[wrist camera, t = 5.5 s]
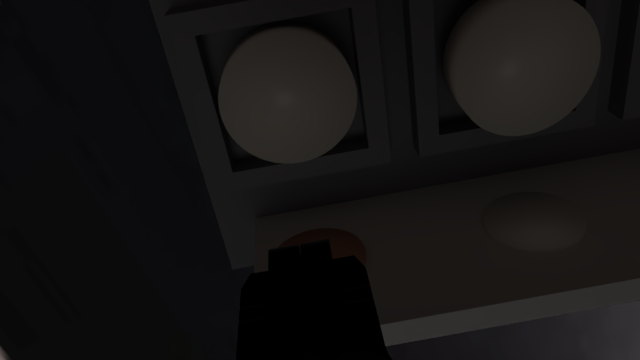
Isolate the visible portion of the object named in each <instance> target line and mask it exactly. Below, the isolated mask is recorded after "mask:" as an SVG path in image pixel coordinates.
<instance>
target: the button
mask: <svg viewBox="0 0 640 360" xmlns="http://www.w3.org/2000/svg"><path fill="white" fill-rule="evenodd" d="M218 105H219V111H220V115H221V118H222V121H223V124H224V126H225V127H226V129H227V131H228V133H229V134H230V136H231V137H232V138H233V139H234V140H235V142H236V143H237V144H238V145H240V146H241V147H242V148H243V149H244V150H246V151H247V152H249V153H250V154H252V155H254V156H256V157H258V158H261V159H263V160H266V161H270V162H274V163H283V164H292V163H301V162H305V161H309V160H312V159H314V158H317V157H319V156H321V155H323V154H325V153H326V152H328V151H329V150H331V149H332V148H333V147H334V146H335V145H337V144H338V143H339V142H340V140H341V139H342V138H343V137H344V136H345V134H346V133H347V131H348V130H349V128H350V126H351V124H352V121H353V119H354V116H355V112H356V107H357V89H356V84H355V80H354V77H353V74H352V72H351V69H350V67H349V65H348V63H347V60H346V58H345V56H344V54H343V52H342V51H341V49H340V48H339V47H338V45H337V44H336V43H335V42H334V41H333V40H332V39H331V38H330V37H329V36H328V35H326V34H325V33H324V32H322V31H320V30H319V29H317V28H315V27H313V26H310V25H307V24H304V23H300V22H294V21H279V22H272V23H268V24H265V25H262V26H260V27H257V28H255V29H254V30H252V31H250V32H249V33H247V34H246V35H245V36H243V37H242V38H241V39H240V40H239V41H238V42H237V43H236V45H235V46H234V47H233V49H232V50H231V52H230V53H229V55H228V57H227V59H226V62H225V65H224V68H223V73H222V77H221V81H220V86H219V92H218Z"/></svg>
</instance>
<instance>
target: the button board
mask: <svg viewBox="0 0 640 360" xmlns="http://www.w3.org/2000/svg"><path fill="white" fill-rule="evenodd" d="M477 1H478V0H149V2H150V6H151V9H152V12H153V15H154V19H155V22H156V25H157V28H158V31H159V35H160V38H161V41H162V44H163V47H164V51H165V54H166V57H167V60H168V63H169V67H170V70H171V73H172V76H173V79H174V83H175V86H176V89H177V92H178V95H179V99H180V102H181V105H182V108H183V112H184V115H185V118H186V121H187V124H188V128H189V131H190V134H191V137H192V140H193V144H194V147H195V150H196V153H197V156H198V160H199V163H200V166H201V169H202V172H203V176H204V179H205V182H206V185H207V189H208V192H209V195H210V198H211V201H212V205H213V208H214V211H215V214H216V217H217V221H218V224H219V227H220V230H221V233H222V237H223V240H224V243H225V246H226V249H227V253H228V256H229V259H230V262H231V265H232V269H237V268H243V267H248V266H254V273H258V272H264V271H268V251H269V249H274V248H280V247H285V246H291V245H296V244H298V246H299V249H300V244H301V243H307V242H313V241H318V240H324V239H329V241H330V247H331V252H332V257H333V259H336V258H341V257H347V256H352V255H354V256H355V257H356V258H357V259H358V260H359V261H360V262H361V263H362V264H363V265H364V266H365V267H366V270H367V274H368V278H369V282H370V286H371V290H372V294H373V299H374V302H375V306H376V310H377V314H378V318H379V323H380V327H381V331H382V335H383V339H384V343H385V346H390V345H395V344H401V343H406V342H412V341H418V340H423V339H429V338H434V337H440V336H445V335H451V334H456V333H462V332H467V331H473V330H479V329H484V328H490V327H495V326H501V325H506V324H512V323H517V322H523V321H528V320H534V319H539V318H545V317H551V316H556V315H562V314H567V313H573V312H578V311H584V310H589V309H595V308H600V307H606V306H612V305H617V304H623V303H628V302H634V301H639V300H640V0H573V1H575V2H576V3H578V4H579V5H581V6H582V7H583V8H584V9H585V10H586V11H587V12H588V13H589V14H590V16H591V17H592V19H593V20H594V22H595V24H596V27H597V29H598V33H599V37H600V45H601V52H600V61H599V66H598V70H597V73H596V76H595V78H594V80H593V83H592V85H591V87H590V88H589V90H588V92H587V93H586V95H585V96H584V98H583V99H582V100H581V101H580V103H579V104H578V105H577V106H576V107H575V108H574V109H573V110H572V111H571V112H570V113H569V114H568V115H566V116H565V117H564V118H563V119H561V120H560V121H558V122H557V123H555V124H553V125H552V126H550V127H548V128H546V129H544V130H541V131H538V132H535V133H532V134H528V135H521V136H504V135H498V134H494V133H491V132H489V131H486V130H484V129H483V128H481V127H479V126H478V125H477V124H476V123H474V122H473V121H472V120H471V119H470V117H469V116H468V115H467V114H466V113H465V112H464V110H463V109H462V108H461V107H460V106H459V105H458V103H457V102H456V101H455V100H454V99H453V97H452V96H451V94H450V93H449V91H448V89H447V86H446V84H445V80H444V75H443V56H444V50H445V46H446V43H447V40H448V38H449V35H450V33H451V31H452V29H453V28H454V26H455V24H456V23H457V21H458V20H459V19H460V17H461V16H462V15H463V14H464V13H465V12H466V10H467V9H468V8H469V7H471V6H472V5H473V4H474V3H475V2H477ZM279 21H294V22H300V23H304V24H307V25H310V26H313V27H315V28H317V29H319V30H320V31H322V32H324V33H325V34H326V35H328V36H329V37H330V38H331V39H332V40H333V41H334V42H335V43H336V44H337V45H338V47H339V48H340V49H341V51H342V52H343V54H344V56H345V58H346V60H347V63H348V65H349V67H350V69H351V72H352V74H353V77H354V80H355V84H356V89H357V107H356V112H355V116H354V119H353V121H352V124H351V126H350V128H349V130H348V131H347V133H346V134H345V136H344V137H343V138H342V139H341V140H340V142H339V143H338V144H337V145H335V146H334V147H333V148H332V149H331V150H329V151H328V152H326V153H325V154H323V155H321V156H319V157H317V158H314V159H312V160H309V161H305V162H301V163H292V164H283V163H274V162H270V161H266V160H263V159H261V158H258V157H256V156H254V155H252V154H250V153H249V152H247V151H246V150H244V149H243V148H242V147H241V146H240V145H238V144H237V143H236V142H235V140H234V139H233V138H232V137H231V136H230V134H229V133H228V131H227V129H226V127H225V126H224V124H223V121H222V118H221V115H220V111H219V105H218V92H219V86H220V81H221V77H222V73H223V68H224V65H225V62H226V59H227V57H228V55H229V53H230V52H231V50H232V49H233V47H234V46H235V45H236V43H237V42H238V41H239V40H240V39H241V38H242V37H243V36H245V35H246V34H247V33H249V32H250V31H252V30H254V29H255V28H257V27H260V26H262V25H265V24H268V23H272V22H279ZM300 253H301V250H300Z"/></svg>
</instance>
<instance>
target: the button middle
mask: <svg viewBox="0 0 640 360" xmlns="http://www.w3.org/2000/svg"><path fill="white" fill-rule="evenodd" d="M600 52H601V45H600V37H599V33H598V29H597V27H596V24H595V22H594V20H593V19H592V17H591V16H590V14H589V13H588V12H587V11H586V10H585V9H584V8H583V7H582V6H581V5H579V4H578V3H576V2H575V1H573V0H478V1H477V2H475V3H474V4H473V5H472V6H471V7H469V8H468V9H467V10H466V12H465V13H464V14H463V15H462V16H461V17H460V19H459V20H458V21H457V23H456V24H455V26H454V28H453V29H452V31H451V33H450V35H449V38H448V40H447V43H446V46H445V50H444V56H443V75H444V80H445V84H446V86H447V89H448V91H449V93H450V94H451V96H452V97H453V99H454V100H455V101H456V102H457V103H458V105H459V106H460V107H461V108H462V109H463V110H464V112H465V113H466V114H467V115H468V116H469V117H470V119H471V120H472V121H473V122H474V123H476V124H477V125H478V126H479V127H481V128H483V129H484V130H486V131H489V132H491V133H494V134H498V135H504V136H521V135H528V134H532V133H535V132H538V131H541V130H544V129H546V128H548V127H550V126H552V125H553V124H555V123H557V122H558V121H560V120H561V119H563V118H564V117H565V116H566V115H568V114H569V113H570V112H571V111H572V110H573V109H574V108H575V107H576V106H577V105H578V104H579V103H580V101H581V100H582V99H583V98H584V96H585V95H586V93H587V92H588V90H589V88H590V87H591V85H592V83H593V80H594V78H595V76H596V73H597V70H598V66H599V61H600Z"/></svg>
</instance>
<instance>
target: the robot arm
mask: <svg viewBox="0 0 640 360" xmlns="http://www.w3.org/2000/svg"><path fill="white" fill-rule="evenodd" d="M300 250H301V253H300ZM236 360H392V359H391V357H390V356H389V354H388V352H387V350H386V347H385V343H384V339H383V335H382V331H381V327H380V323H379V318H378V314H377V310H376V306H375V302H374V299H373V294H372V290H371V286H370V282H369V278H368V274H367V270H366V267H365V266H364V265H363V264H362V263H361V262H360V261H359V260H358V259H357V258H356V257H355V256H354V255H352V256H347V257H341V258H336V259H333V257H332V252H331V247H330V241H329V239H324V240H318V241H313V242H307V243H301V244H300V249H299V246H298V244H296V245H291V246H285V247H280V248H274V249H269V251H268V271H264V272H258V273H252V274H250V276H249V277H248V279H247V281H246V282H245V284H244V286H243V288H242V289H241V298H240V312H239V326H238V340H237V354H236Z"/></svg>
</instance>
